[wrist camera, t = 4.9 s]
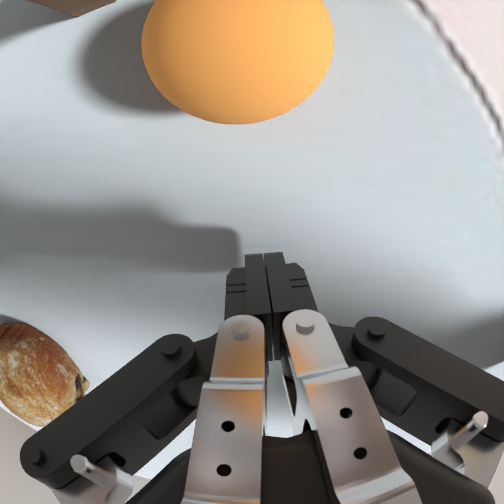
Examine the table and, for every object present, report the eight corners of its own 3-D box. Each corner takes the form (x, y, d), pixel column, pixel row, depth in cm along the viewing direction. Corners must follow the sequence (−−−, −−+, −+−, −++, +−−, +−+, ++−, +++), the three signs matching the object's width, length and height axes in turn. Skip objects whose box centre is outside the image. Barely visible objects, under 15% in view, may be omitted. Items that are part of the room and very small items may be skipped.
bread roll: (97, 371, 23) (110, 439, 17) (17, 381, 19) (17, 445, 13) (66, 295, 18) (63, 375, 12) (-26, 311, 14) (-46, 382, 8)
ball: (315, -50, 4) (292, 54, 10) (142, -44, 4) (164, 64, 9) (400, 21, 3) (328, 153, 8) (94, 26, 3) (159, 170, 8)
